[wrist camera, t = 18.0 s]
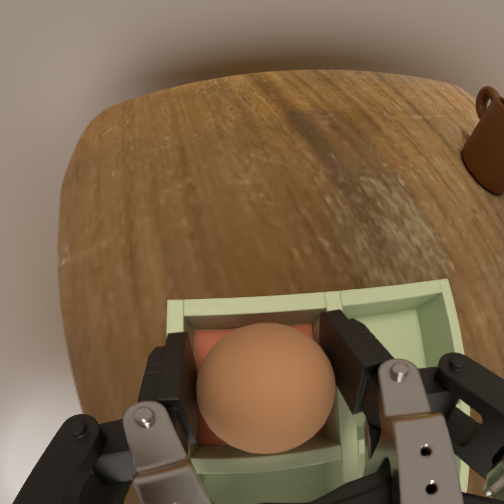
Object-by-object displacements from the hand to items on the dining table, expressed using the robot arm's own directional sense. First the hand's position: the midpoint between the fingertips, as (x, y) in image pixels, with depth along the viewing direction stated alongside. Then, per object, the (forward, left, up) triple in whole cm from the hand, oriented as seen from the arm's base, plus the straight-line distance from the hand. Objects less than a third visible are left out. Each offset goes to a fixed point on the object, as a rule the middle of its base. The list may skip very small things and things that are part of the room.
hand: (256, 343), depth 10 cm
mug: (+29, +18, -5) cm, 35 cm away
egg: (0, -2, -4) cm, 5 cm away
